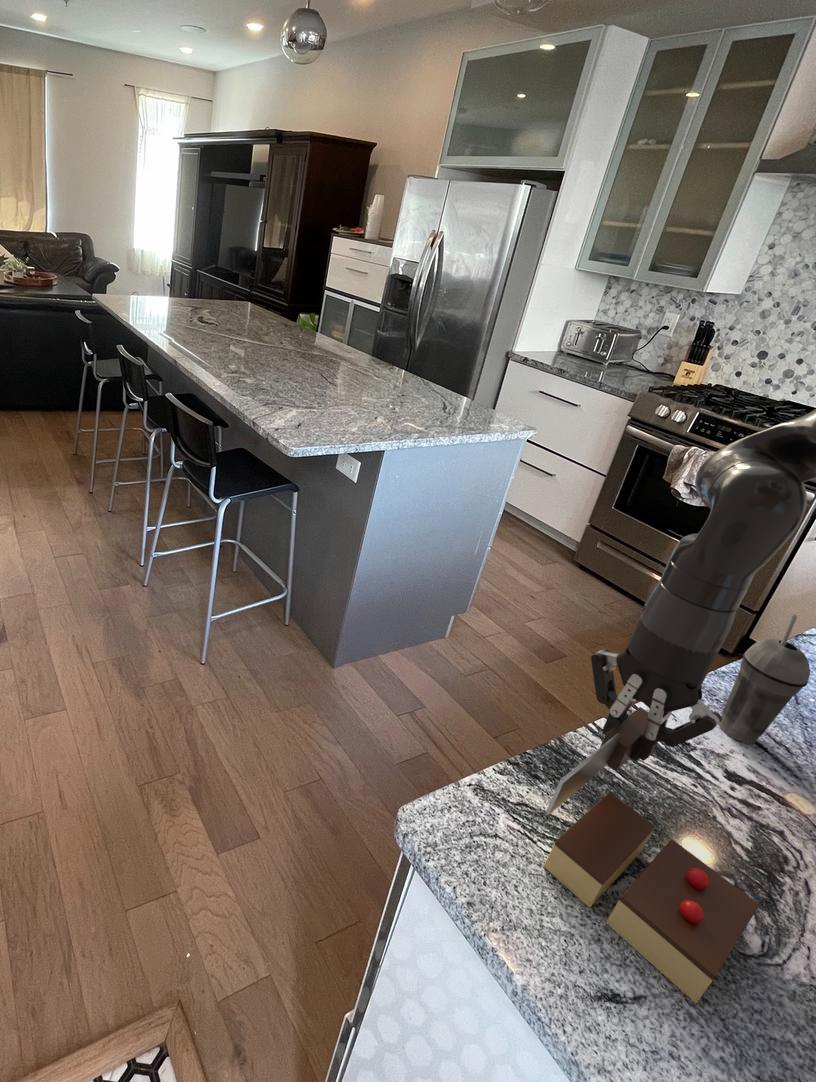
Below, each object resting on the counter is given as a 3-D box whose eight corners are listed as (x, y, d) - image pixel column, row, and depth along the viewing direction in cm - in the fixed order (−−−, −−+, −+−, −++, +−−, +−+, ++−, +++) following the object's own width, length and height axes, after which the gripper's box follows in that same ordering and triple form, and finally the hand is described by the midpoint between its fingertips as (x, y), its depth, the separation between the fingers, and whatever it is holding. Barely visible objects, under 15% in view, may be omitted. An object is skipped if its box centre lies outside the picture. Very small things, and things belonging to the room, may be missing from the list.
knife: (629, 728, 78) (642, 700, 76) (649, 741, 76) (664, 712, 75) (536, 804, 65) (550, 772, 63) (558, 822, 63) (573, 790, 62)
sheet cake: (656, 863, 68) (677, 828, 66) (741, 930, 62) (766, 894, 60) (605, 922, 61) (627, 885, 59) (695, 1004, 55) (723, 965, 53)
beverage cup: (779, 757, 87) (854, 639, 79) (723, 744, 88) (792, 627, 80) (749, 720, 94) (815, 608, 86) (697, 708, 94) (759, 596, 87)
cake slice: (596, 816, 73) (609, 791, 71) (641, 851, 69) (655, 826, 68) (543, 866, 66) (555, 840, 64) (589, 908, 62) (604, 881, 61)
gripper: (768, 655, 65) (699, 777, 72) (630, 587, 75) (581, 700, 82) (743, 678, 61) (673, 806, 67) (600, 603, 71) (551, 721, 77)
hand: (623, 747), depth 75 cm, fingers closed on knife, 2 cm apart
